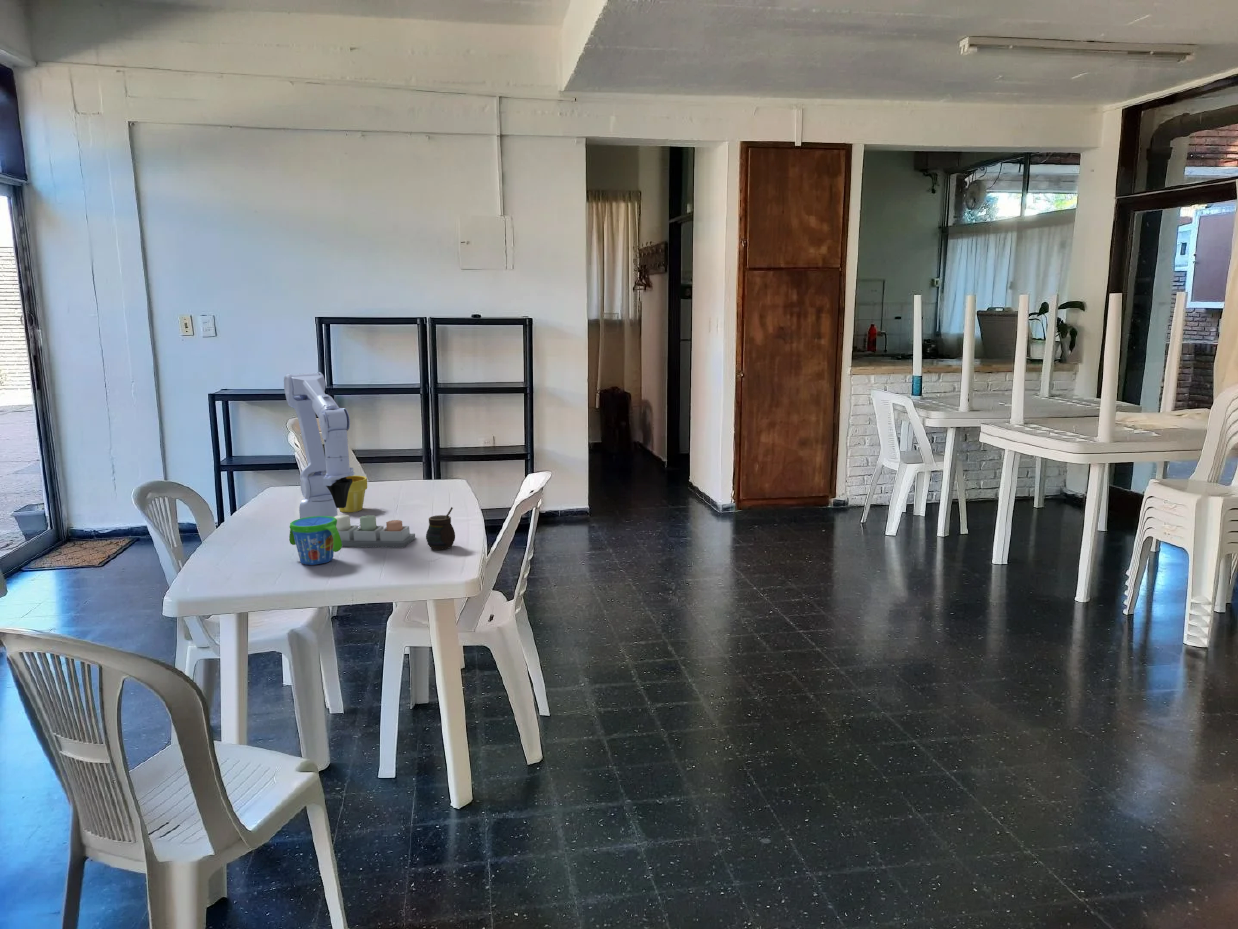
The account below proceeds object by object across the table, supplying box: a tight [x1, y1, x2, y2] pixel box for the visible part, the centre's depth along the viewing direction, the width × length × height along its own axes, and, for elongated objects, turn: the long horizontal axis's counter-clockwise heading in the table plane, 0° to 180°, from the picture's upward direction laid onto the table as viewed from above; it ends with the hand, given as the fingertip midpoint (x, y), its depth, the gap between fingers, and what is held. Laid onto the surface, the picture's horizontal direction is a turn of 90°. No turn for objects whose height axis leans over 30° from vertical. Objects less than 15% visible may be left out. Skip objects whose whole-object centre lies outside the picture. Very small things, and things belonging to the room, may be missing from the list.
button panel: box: [338, 525, 416, 549], centre depth 218 cm, size 22×9×4 cm, turn 85°
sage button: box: [359, 514, 377, 531], centre depth 217 cm, size 4×4×4 cm
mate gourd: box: [425, 506, 456, 551], centre depth 211 cm, size 7×8×10 cm
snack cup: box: [288, 516, 343, 566], centre depth 201 cm, size 16×10×10 cm
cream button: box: [334, 514, 352, 531], centre depth 218 cm, size 4×4×4 cm
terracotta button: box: [385, 519, 403, 531], centre depth 217 cm, size 4×4×4 cm
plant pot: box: [338, 475, 368, 513], centre depth 253 cm, size 10×10×10 cm
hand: (341, 507), depth 217 cm, fingers closed
